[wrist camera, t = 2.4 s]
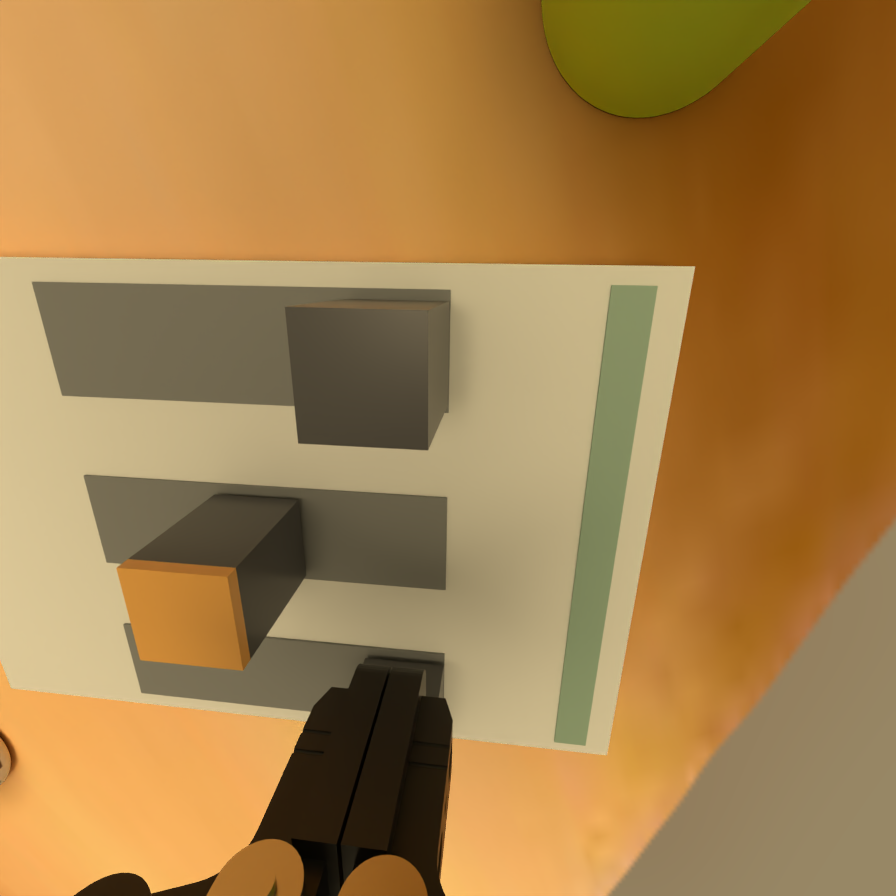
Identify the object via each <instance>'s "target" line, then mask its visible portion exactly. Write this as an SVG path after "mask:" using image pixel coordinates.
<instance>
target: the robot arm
mask: <svg viewBox="0 0 896 896" xmlns="http://www.w3.org/2000/svg"><path fill="white" fill-rule="evenodd" d="M452 732H453V719H452V716H451V713H450V710H449V707H448V704H447V701H446V698H438V697H428V696H426V670H424V669H414V668H404V667H393V668H392V667H391V666H382V665H371V664H361V663H360V664H358V666H357V668H356V670H355V672H354V675H353V678H352V680H351V683H350V685H349V688H339V687H331V688H330V689H329V690H328V691H327V692H326V693H325V694H324V695H323V696H322V697H321V698H320V699H319V700H318V702H317V703H316V704H315V705H314V706H313V708H312V710H311V713H310V715H309V717H308V719H307V721H306V724H305V726H304V728H303V733H301V735H300V737H299V739H298V741H297V744H296V746H295V748H294V753H292V755H291V757H290V759H289V761H288V764H287V766H286V768H285V770H284V773H283V775H282V777H281V779H280V781H279V784H278V786H277V788H276V790H275V793H274V795H273V797H272V799H271V801H270V804H269V806H268V808H267V810H266V813H265V815H264V817H263V819H262V822H261V824H260V826H259V828H258V830H257V832H256V834H255V836H254V838H253V840H252V841H251V843H250V844H249V846H247V847H245V848H244V849H242V850H241V851H239V852H238V853H237V854H235V855H234V856H233V857H232V858H231V859H230V860H229V861H228V862H227V863H226V865H225V866H224V867H223V868H222V870H221V871H220V872H219V873H218V874H216V875H214V876H212V877H210V878H208V879H205V880H202V881H199V882H196V883H192V884H188V885H184V886H180V887H176V888H172V889H168V890H164V891H160V892H156V893H152V894H151V892H150V889H149V887H148V885H147V883H146V882H145V881H144V879H143V878H141V877H140V876H138V875H136V874H132V873H118V874H113V875H110V876H107V877H104V878H102V879H100V880H98V881H96V882H94V883H92V884H90V885H89V886H87V887H86V888H84V889H83V890H81V891H80V892H78V893H77V894H76V895H74V896H445V894H444V892H443V889H442V886H441V884H440V876H441V867H442V857H443V848H444V838H445V829H446V819H447V809H448V798H449V790H450V781H451V769H452Z"/></svg>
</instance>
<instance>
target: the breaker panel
mask: <svg viewBox="0 0 896 896" xmlns="http://www.w3.org/2000/svg"><path fill="white" fill-rule="evenodd" d="M694 270H695V266H622V265H549V264H477V263H404V262H331V261H258V260H186V259H113V258H40V257H0V661H1V663H2V666H3V668H4V671H5V673H6V676H7V679H8V681H9V684H10V686H11V688H13V689H22V690H31V691H40V692H49V693H58V694H66V695H75V696H84V697H93V698H102V699H111V700H120V701H129V702H138V703H146V704H155V705H164V706H173V707H182V708H191V709H200V710H209V711H218V712H226V713H235V714H244V715H253V716H262V717H271V718H280V719H289V720H298V721H307V719H308V717H309V715H310V713H311V710H312V708H313V706H314V705H315V704H316V703H317V702H318V700H319V699H320V698H321V697H322V696H323V695H324V694H325V693H326V692H327V691H328V690H329V689H330V688H331V687H339V688H349V685H350V683H351V680H352V678H353V675H354V672H355V670H356V668H357V666H358V664H360V663H361V664H363V662H364V660H365V658H371V659H381V660H392V661H402V662H412V663H422V664H433V665H443V666H444V675H443V698H446V701H447V704H448V707H449V710H450V713H451V716H452V719H453V732H452V738H458V739H467V740H475V741H484V742H493V743H502V744H511V745H520V746H529V747H538V748H547V749H555V750H564V751H573V752H582V753H591V754H600V755H607V752H608V747H609V741H610V736H611V730H612V724H613V719H614V713H615V708H616V702H617V697H618V691H619V686H620V680H621V675H622V669H623V663H624V658H625V652H626V647H627V641H628V636H629V630H630V625H631V619H632V614H633V608H634V602H635V597H636V591H637V586H638V580H639V575H640V569H641V564H642V558H643V553H644V547H645V541H646V536H647V530H648V525H649V519H650V514H651V508H652V503H653V497H654V491H655V486H656V480H657V475H658V469H659V464H660V458H661V453H662V447H663V442H664V436H665V430H666V425H667V419H668V414H669V408H670V403H671V397H672V392H673V386H674V381H675V375H676V369H677V364H678V358H679V353H680V347H681V342H682V336H683V331H684V325H685V320H686V314H687V308H688V303H689V297H690V292H691V286H692V281H693V275H694ZM341 299H372V300H418V301H450V304H449V366H448V406H447V408H446V411H445V413H444V415H443V418H442V420H441V422H440V424H439V427H438V429H437V431H436V434H435V436H434V438H433V440H432V443H431V445H430V447H429V450H410V449H391V448H372V447H353V446H334V445H316V444H298V438H297V427H296V417H295V407H294V396H293V386H292V376H291V366H290V355H289V345H288V335H287V324H286V314H285V307H286V306H294V305H302V304H310V303H317V302H325V301H333V300H341ZM214 494H217V495H232V496H248V497H263V498H279V499H294V500H299V508H300V517H301V527H302V537H303V547H304V557H305V567H306V577H305V578H304V580H303V581H302V583H301V584H300V586H299V587H298V589H297V590H296V592H295V593H294V595H293V596H292V598H291V599H290V601H289V602H288V604H287V605H286V607H285V608H284V610H283V611H282V613H281V614H280V616H279V617H278V619H277V620H276V622H275V623H274V625H273V626H272V628H271V629H270V631H269V633H268V634H267V636H266V637H265V639H264V640H263V642H262V643H261V645H260V646H259V648H258V649H257V651H256V652H255V654H254V655H253V657H252V658H251V660H250V661H249V663H248V664H247V666H246V667H245V669H244V670H243V671H240V670H231V669H221V668H211V667H202V666H192V665H182V664H172V663H163V662H153V661H143V660H140V657H139V654H138V650H137V646H136V642H135V638H134V634H133V630H132V627H131V623H130V619H129V615H128V611H127V607H126V604H125V600H124V596H123V592H122V588H121V584H120V580H119V577H118V573H117V569H116V568H117V567H118V566H119V565H121V564H122V563H123V562H125V561H126V560H127V559H129V558H130V557H131V556H133V555H134V554H135V553H137V552H138V551H139V550H141V549H142V548H143V547H145V546H146V545H147V544H149V543H150V542H151V541H153V540H154V539H155V538H157V537H158V536H159V535H161V534H162V533H163V532H165V531H166V530H167V529H169V528H170V527H171V526H173V525H174V524H175V523H177V522H178V521H179V520H181V519H182V518H183V517H185V516H186V515H188V514H189V513H190V512H192V511H193V510H194V509H196V508H197V507H198V506H200V505H201V504H202V503H204V502H205V501H206V500H208V499H209V498H210V497H212V496H213V495H214Z"/></svg>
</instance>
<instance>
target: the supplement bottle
mask: <svg viewBox="0 0 896 896" xmlns="http://www.w3.org/2000/svg"><path fill="white" fill-rule="evenodd" d="M10 766H11V758H10V754H9V751H8V749H7V747H6V745H5V743H4V742H3V740H2V739H1V738H0V785H1V784H2V783H3V782H4V780H5V779H6V777H7V776H8V774H9V771H10Z"/></svg>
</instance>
